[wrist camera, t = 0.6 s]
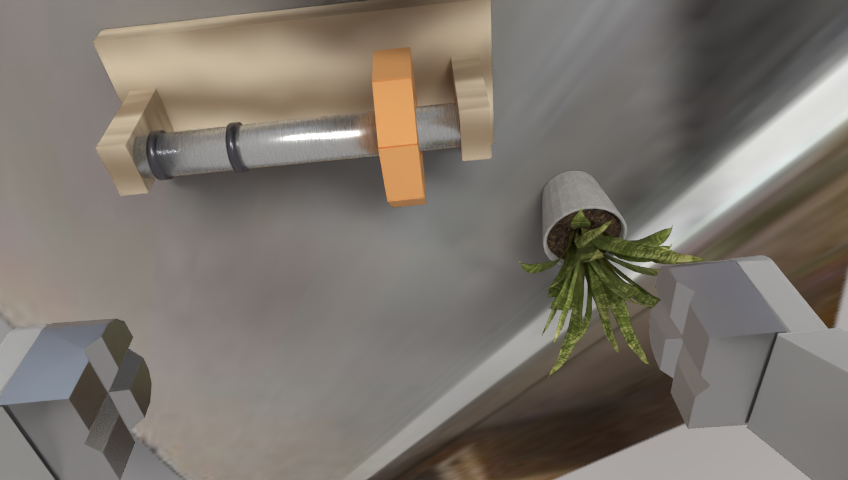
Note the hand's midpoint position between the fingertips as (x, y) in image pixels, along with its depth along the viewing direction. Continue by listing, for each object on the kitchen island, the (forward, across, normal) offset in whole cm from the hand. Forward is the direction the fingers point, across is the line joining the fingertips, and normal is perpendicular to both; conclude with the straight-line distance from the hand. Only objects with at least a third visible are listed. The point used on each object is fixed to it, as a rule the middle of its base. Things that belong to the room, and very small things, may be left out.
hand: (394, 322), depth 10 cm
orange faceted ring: (+38, +1, +12) cm, 39 cm away
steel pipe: (+34, +8, +13) cm, 37 cm away
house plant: (+42, -14, +26) cm, 52 cm away
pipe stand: (+41, +8, +12) cm, 43 cm away
